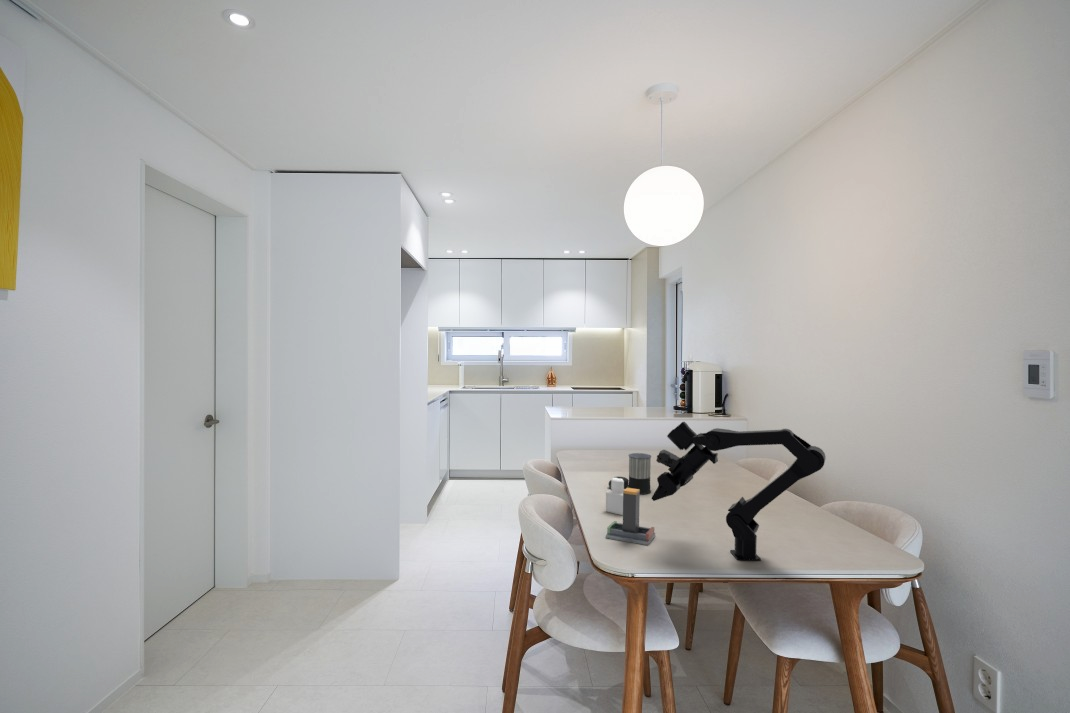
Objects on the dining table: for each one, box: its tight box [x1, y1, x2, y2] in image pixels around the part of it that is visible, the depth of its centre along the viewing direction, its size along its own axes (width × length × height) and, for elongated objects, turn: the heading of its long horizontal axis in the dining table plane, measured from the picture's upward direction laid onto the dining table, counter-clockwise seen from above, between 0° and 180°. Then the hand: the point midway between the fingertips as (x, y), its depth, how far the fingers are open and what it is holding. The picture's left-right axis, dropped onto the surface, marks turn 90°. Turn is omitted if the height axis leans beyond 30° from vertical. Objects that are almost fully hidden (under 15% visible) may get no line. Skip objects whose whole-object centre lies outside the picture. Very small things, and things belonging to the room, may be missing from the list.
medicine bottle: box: [605, 476, 629, 516], centre depth 194 cm, size 7×7×12 cm
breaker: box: [622, 488, 641, 533], centre depth 168 cm, size 4×4×13 cm
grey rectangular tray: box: [605, 520, 656, 546], centre depth 168 cm, size 13×9×3 cm
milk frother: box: [608, 452, 652, 495], centre depth 223 cm, size 14×16×15 cm
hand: (657, 496), depth 166 cm, fingers open, 9 cm apart
